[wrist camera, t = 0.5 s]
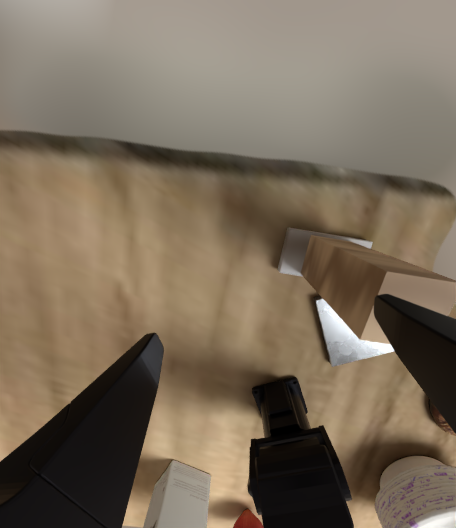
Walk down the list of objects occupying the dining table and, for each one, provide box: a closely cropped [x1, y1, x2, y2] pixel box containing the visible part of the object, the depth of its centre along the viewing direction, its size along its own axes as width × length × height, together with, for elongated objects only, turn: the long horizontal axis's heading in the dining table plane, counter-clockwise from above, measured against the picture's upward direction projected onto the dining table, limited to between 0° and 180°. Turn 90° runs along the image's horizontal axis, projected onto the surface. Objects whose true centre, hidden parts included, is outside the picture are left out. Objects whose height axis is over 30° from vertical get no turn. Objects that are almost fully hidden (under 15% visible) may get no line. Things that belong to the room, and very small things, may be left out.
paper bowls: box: [375, 456, 456, 528], centre depth 32 cm, size 15×15×8 cm
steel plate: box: [314, 296, 394, 367], centre depth 27 cm, size 10×10×1 cm
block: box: [278, 227, 456, 345], centre depth 19 cm, size 5×9×13 cm, turn 81°
